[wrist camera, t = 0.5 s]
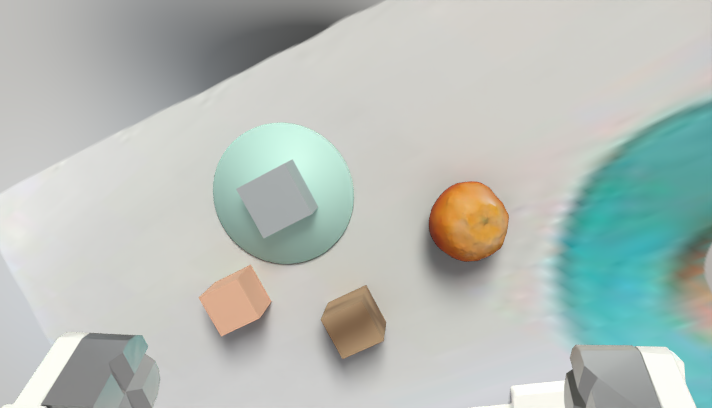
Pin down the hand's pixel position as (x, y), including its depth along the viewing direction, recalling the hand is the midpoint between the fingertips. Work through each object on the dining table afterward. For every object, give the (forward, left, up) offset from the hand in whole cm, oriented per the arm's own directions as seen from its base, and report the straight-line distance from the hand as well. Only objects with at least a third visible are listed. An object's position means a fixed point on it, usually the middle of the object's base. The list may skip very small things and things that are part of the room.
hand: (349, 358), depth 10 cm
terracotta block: (-7, +25, -50) cm, 56 cm away
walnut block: (-15, +14, -50) cm, 54 cm away
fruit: (-10, -2, -50) cm, 51 cm away
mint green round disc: (+1, +15, -50) cm, 52 cm away
